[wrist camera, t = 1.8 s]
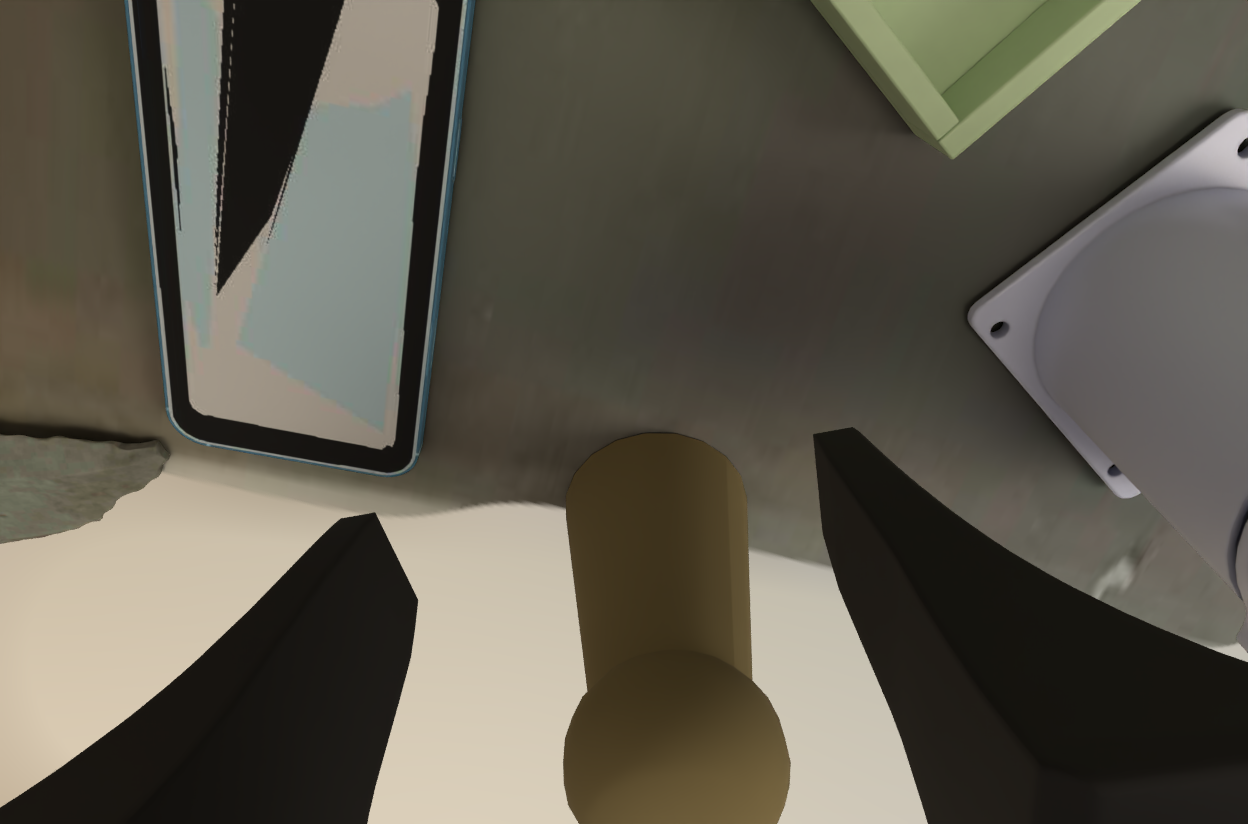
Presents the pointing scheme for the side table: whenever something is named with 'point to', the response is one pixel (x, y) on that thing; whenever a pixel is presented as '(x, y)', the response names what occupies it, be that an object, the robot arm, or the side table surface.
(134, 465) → the stone
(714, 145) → the side table surface
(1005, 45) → the spice tray
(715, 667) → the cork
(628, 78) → the side table surface
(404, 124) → the smartphone
